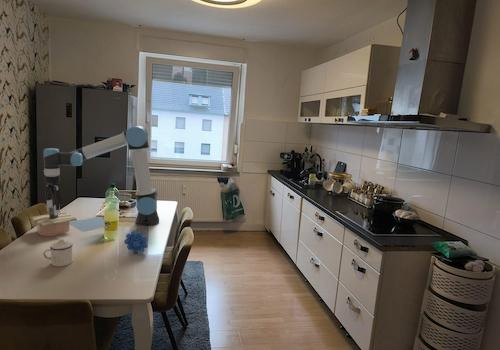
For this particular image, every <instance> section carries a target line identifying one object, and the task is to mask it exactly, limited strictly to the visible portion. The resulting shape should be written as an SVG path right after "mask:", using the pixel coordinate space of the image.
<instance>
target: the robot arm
mask: <svg viewBox="0 0 500 350" xmlns="http://www.w3.org/2000/svg"><path fill="white" fill-rule="evenodd" d="M148 135H149V134H148V130H147V129H146V128H145V127H144V126H142V125H138V124H137V125H132V126H130V127H129V128H127V129H126V130H124V131H122V133H120V134H118V135H114V136H111V137H109V138H105V139H103V140H101V141H97V142H94V143H92V144H88V145H86V146H83V147H81V148H78V149H74V150H72V151H70V152H61V151H60V149H59V148H54V147H52V148H51V147H50V148H44V149H43V156H42V158H43V168H44V170H43V174H44V183H45V190H44V191H45V193H44V199H46V212H49V208H50V207H54V215H60V212H61V206H60V205H61V204H63V203H62V202H63V201H62V198H61V187H60V186H59V185H58V183H60V181H61V177H60V175H61V170H60V169H61V168H60V166H67V167H68V166H69V167H78V166H79V167H80V166H82V165H83V161H86V160H89V159H91V158H94V157H97V156H100V155H103V154H106V153H109V152H111V151H114V150H117V149H119V148H122V147H125V146H127V147H128V150H129V152H131V155H132V156H131V157H132V162H133V168H134V176H135V182H136V188H137V189H136V190H137V191H136V192H135V193H134V194H135V200H136V210H137V214H136V217H135V224H137V225H141V226H144V227H148V226H154V225H155V226H156V225H157V224H160V217H159V215H158V214H159V213H158V209H157V208H158V204H157V203H158V190H157V189H156V188H152V187H153V186H152V180H151V173H150V165H149V158H148V152H147V151H148V149H149V148H150V146H149V138H148V137H149V136H148ZM53 202H54V203H53ZM53 205H54V206H53Z"/></svg>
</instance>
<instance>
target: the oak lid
mask: <svg viewBox="0 0 500 350" xmlns="http://www.w3.org/2000/svg"><path fill="white" fill-rule="evenodd" d="M30 220H31V221H33V222H34V223H36V224H37V223H38V224H39V225H41V226H42V227H45V226H50V225H55V224H60V223H66V222H73V221H78V218H76V217H75V216H72V215H71V214H69V213H67V212H65V211H60V215H54V206H52V207H50V208H49V211H48V213H46V214H41V215H35V216H30Z"/></svg>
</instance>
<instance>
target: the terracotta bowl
mask: <svg viewBox="0 0 500 350" xmlns="http://www.w3.org/2000/svg"><path fill="white" fill-rule="evenodd" d="M36 224H37V225H36V227H37V234H38V235H39V234H40V236H44V237H55V236H56V237H57V236H58V235H60V234H65V233H66V232H69V231H70V229H71V224H70V222H66V223H60V224H55V225H50V226H45V227H42V226H41V225H39V224H38V223H36Z"/></svg>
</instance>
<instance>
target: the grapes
mask: <svg viewBox="0 0 500 350" xmlns="http://www.w3.org/2000/svg"><path fill="white" fill-rule="evenodd" d="M147 242H148V238H147V237H146V236H144V234H143V232H140V231H139V232H137V231H135V230H132V231H131V232H130V233H126V235H125V239H124V244H125V245H127V246H126V249H128V250H130V251H132V252H133V253H135V254H137V253H144V252H145V249H147V248H148V246H149V245H148V243H147Z"/></svg>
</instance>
